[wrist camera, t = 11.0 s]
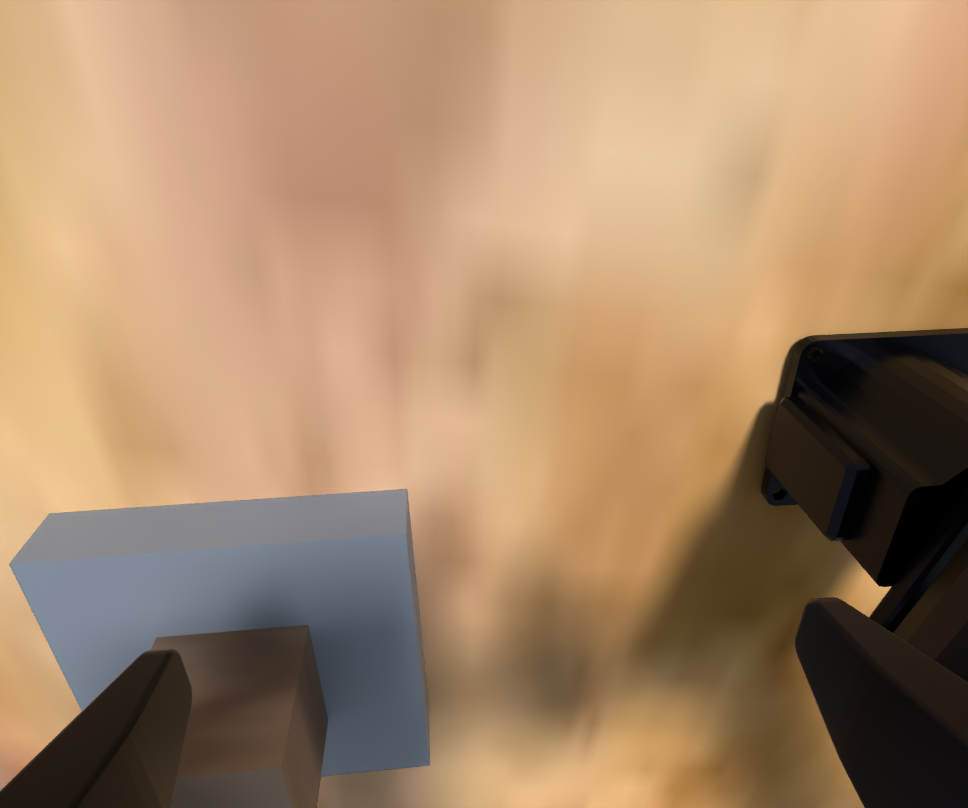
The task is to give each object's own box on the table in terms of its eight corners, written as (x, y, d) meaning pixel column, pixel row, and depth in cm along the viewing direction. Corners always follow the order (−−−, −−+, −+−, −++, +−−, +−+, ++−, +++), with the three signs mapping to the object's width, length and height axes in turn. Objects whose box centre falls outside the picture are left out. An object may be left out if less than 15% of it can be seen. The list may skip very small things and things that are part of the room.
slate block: (407, 479, 23) (406, 534, 20) (429, 700, 29) (429, 765, 26) (57, 503, 22) (9, 564, 20) (151, 726, 28) (123, 795, 25)
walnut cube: (308, 624, 22) (281, 767, 18) (328, 719, 24) (308, 866, 20) (156, 637, 22) (89, 786, 17) (191, 732, 24) (141, 884, 20)
